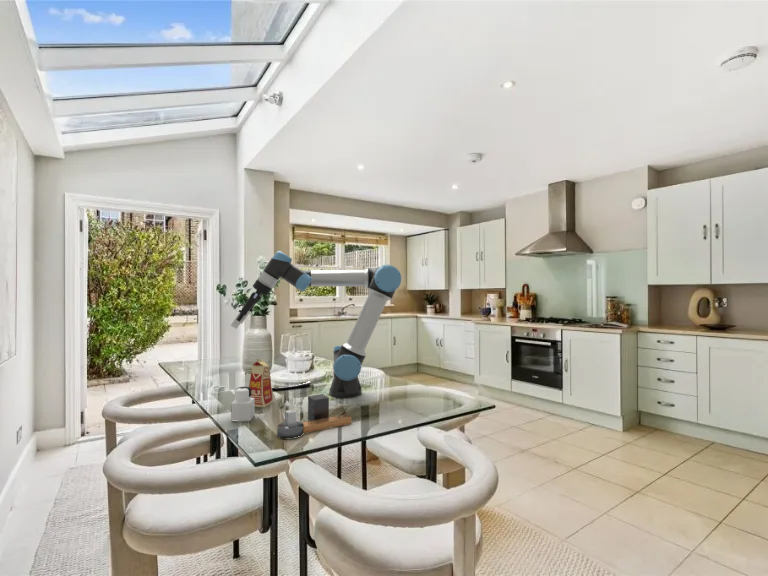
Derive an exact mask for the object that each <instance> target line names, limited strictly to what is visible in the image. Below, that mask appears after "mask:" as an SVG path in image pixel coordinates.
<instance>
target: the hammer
mask: <svg viewBox="0 0 768 576" xmlns="http://www.w3.org/2000/svg"><path fill="white" fill-rule="evenodd" d="M351 424H352V416H350V415H348V414H347V413H345V414H341V415H335V416H330V417H329V418H324V419H318V420H313V421H310V420H308V421H305V422H301V421H297V411H296V410H294V409H289V410H288V409H287V410H284V422H281V423H280V422H279V424H278V425H277V427H276V433H277V435H276V436H277V437H278V438H279V437H280V439H282V438H294V437H298V436H301V435H302V434H303V433H304V434H307V433H306V432H309V433H312V431H314V432H318V430H319V431H323V430H326V428H328V429H331V428H330V427H333V428H337V426H338V427H342V426H348V425H351ZM304 434H303V435H304ZM303 435H302V436H303ZM302 436H301V437H302ZM298 438H299V437H298ZM294 439H295V438H294Z"/></svg>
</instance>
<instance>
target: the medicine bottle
mask: <svg viewBox="0 0 768 576" xmlns="http://www.w3.org/2000/svg"><path fill="white" fill-rule="evenodd" d="M230 407H231V409H230V412H231V413H230V417H231V418H230V421H231V420H238V421H237V422H250V421H252V419H253V418H254V416H255V398H251V388H250V387H249V386H238V387H237V388H235V389H234V400H233V401H232V402H231V404H230Z"/></svg>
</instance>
